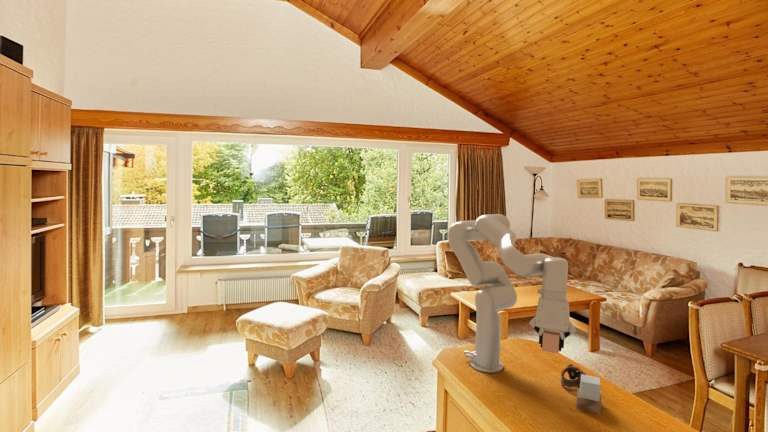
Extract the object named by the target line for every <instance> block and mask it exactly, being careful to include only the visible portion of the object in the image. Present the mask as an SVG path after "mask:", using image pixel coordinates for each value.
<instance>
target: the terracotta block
mask: <svg viewBox="0 0 768 432" xmlns="http://www.w3.org/2000/svg"><path fill="white" fill-rule="evenodd" d="M559 339H560V332H559V331H555V330H549V329H544V331H543V343H542V348H541V351H543V352H546V353H547V352H548V353H551V354H557V355H558V354H559V352H560V351H559Z"/></svg>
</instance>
